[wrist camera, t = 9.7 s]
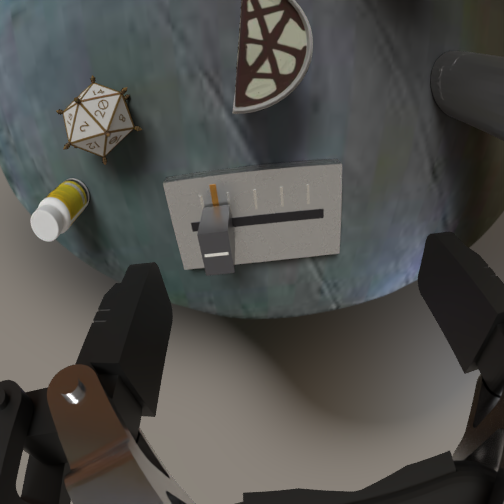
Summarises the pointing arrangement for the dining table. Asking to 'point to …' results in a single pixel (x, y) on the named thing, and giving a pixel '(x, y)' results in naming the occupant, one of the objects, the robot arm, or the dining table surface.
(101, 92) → the game die
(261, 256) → the console board
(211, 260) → the fader knob
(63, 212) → the supplement bottle
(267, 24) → the food container
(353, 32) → the dining table surface
